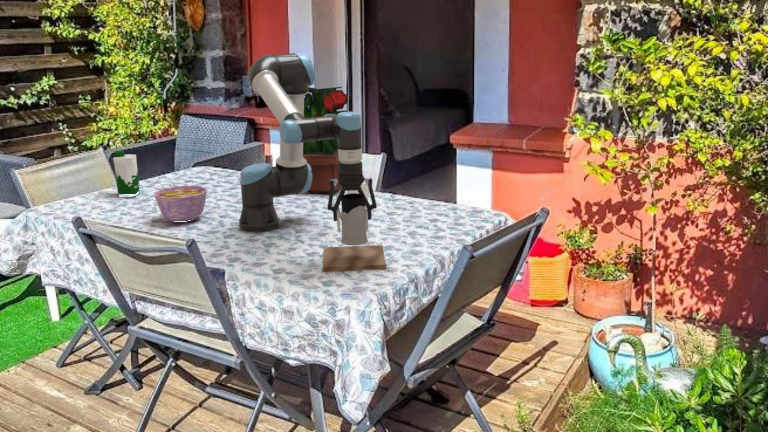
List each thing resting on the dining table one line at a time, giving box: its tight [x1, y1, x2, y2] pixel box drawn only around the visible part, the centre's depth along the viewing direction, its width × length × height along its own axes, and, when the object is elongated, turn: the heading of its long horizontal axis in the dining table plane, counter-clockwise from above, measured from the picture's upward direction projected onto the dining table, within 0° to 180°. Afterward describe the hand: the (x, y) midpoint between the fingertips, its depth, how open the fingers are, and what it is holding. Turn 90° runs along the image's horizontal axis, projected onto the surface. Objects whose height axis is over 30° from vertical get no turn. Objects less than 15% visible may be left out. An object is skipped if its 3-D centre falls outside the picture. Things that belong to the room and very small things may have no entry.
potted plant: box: [303, 86, 352, 195], centre depth 341 cm, size 22×22×45 cm
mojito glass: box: [112, 150, 140, 195], centre depth 343 cm, size 9×9×20 cm
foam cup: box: [346, 181, 370, 209], centre depth 308 cm, size 10×9×13 cm
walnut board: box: [322, 244, 387, 273], centre depth 256 cm, size 20×20×2 cm
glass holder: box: [336, 193, 369, 246], centre depth 252 cm, size 9×14×15 cm, turn 35°
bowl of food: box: [153, 185, 208, 222], centre depth 305 cm, size 20×20×12 cm
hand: (352, 229), depth 253 cm, fingers closed on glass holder, 8 cm apart
